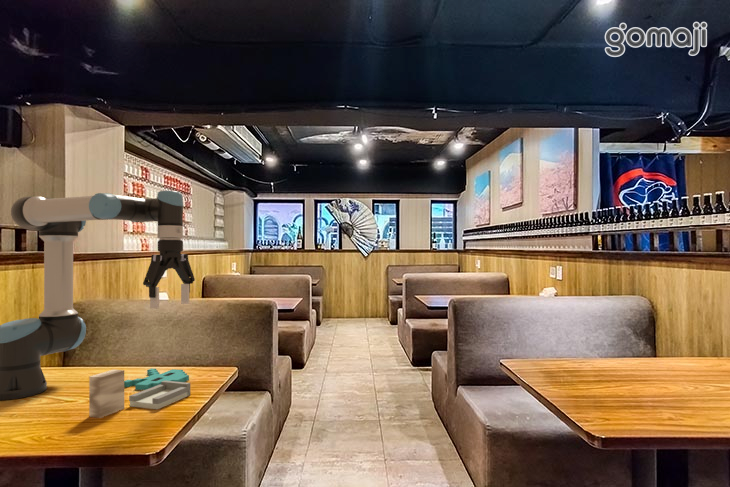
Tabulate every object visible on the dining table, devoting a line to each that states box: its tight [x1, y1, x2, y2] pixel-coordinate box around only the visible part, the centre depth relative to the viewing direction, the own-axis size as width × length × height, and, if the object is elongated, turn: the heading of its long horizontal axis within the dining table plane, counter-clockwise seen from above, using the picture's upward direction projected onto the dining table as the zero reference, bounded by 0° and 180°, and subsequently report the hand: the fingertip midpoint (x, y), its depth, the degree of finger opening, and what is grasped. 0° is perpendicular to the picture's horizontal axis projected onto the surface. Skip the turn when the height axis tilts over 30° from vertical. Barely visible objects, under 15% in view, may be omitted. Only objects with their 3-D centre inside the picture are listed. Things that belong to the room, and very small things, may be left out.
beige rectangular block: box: [88, 369, 125, 419], centre depth 130 cm, size 4×8×11 cm, turn 161°
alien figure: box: [124, 367, 190, 391], centre depth 162 cm, size 20×2×20 cm
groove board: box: [128, 381, 191, 410], centre depth 140 cm, size 10×14×4 cm
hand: (170, 305), depth 147 cm, fingers open, 13 cm apart
